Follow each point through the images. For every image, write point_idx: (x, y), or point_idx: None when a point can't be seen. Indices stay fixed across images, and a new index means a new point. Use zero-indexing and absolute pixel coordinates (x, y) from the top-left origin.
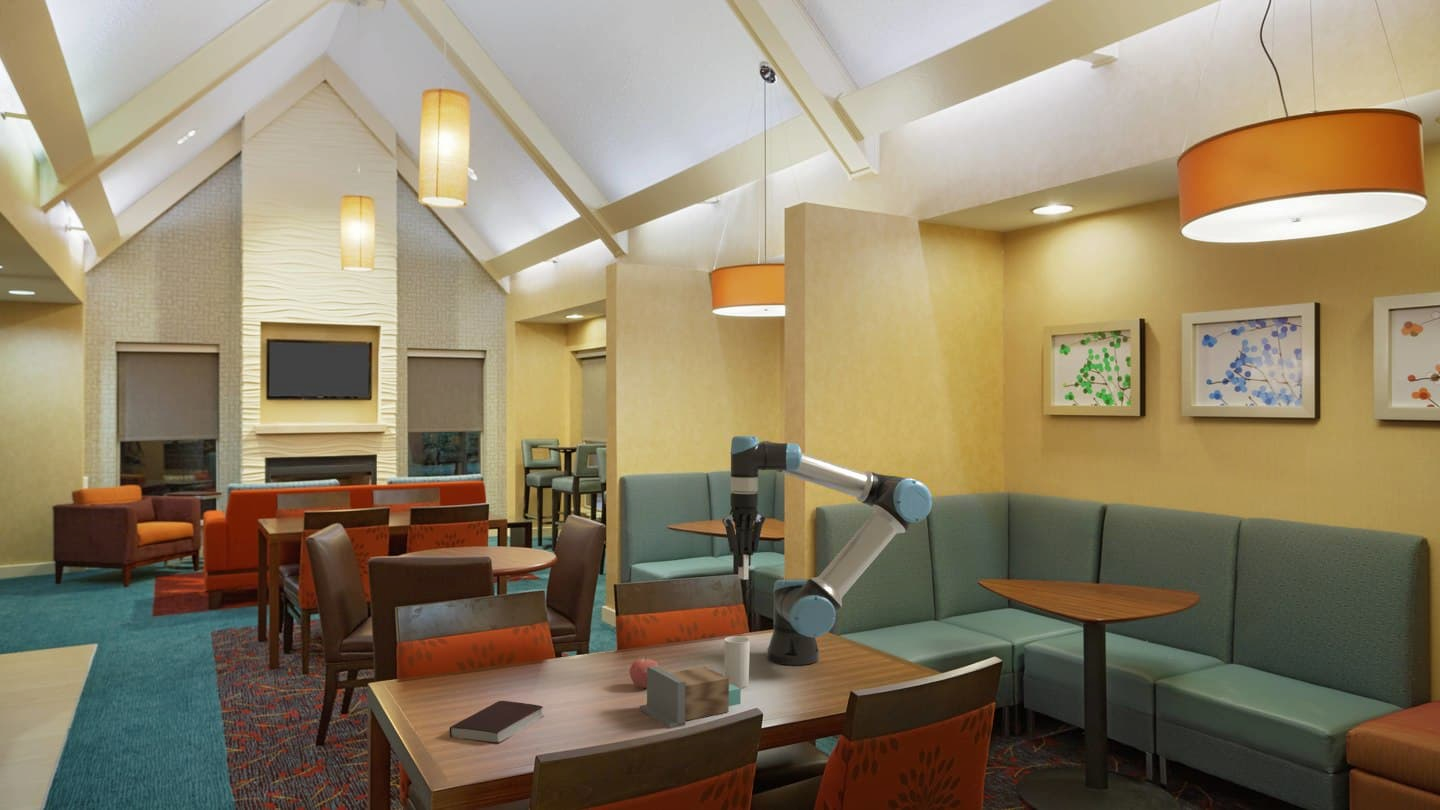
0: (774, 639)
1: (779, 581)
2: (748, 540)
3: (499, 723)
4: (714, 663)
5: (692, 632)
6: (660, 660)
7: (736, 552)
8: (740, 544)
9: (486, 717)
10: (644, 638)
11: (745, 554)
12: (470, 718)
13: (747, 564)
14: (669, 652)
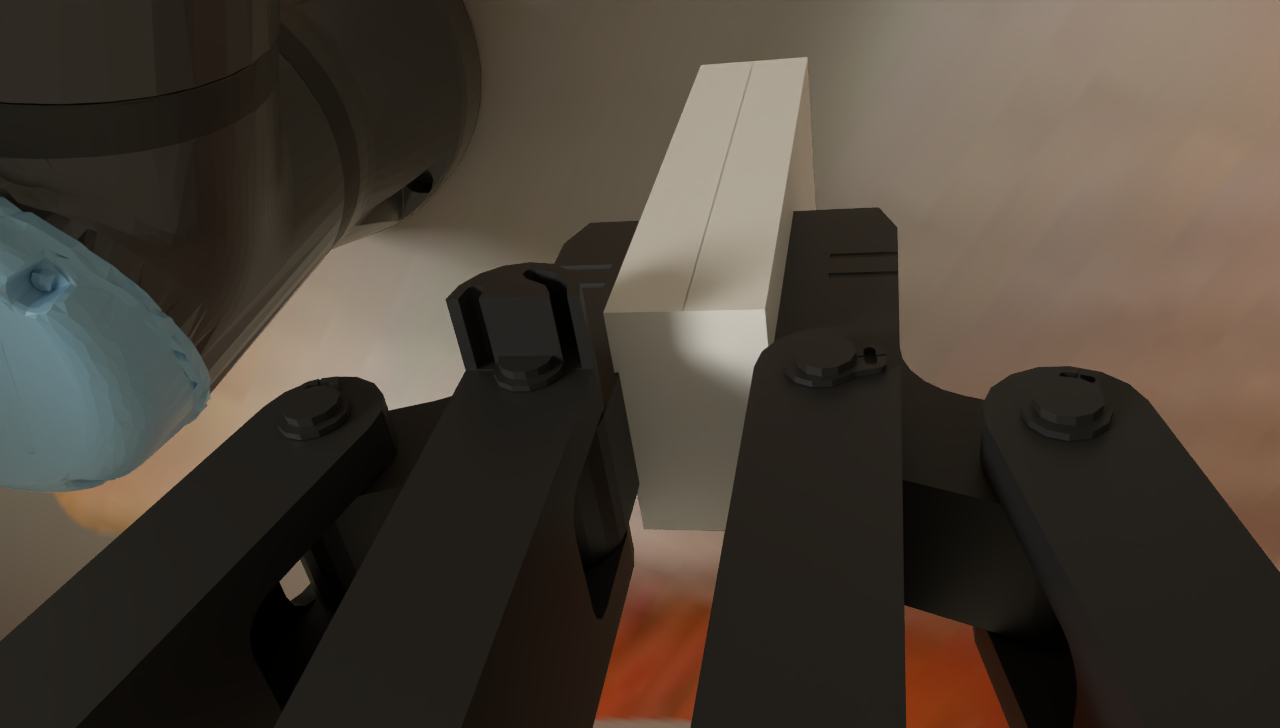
0: (398, 119)
1: (93, 362)
2: (471, 676)
3: None
4: (860, 186)
5: (662, 694)
6: (1139, 391)
7: (1083, 384)
8: (903, 587)
9: None
10: (948, 725)
11: (630, 438)
12: None
13: (682, 191)
14: None
